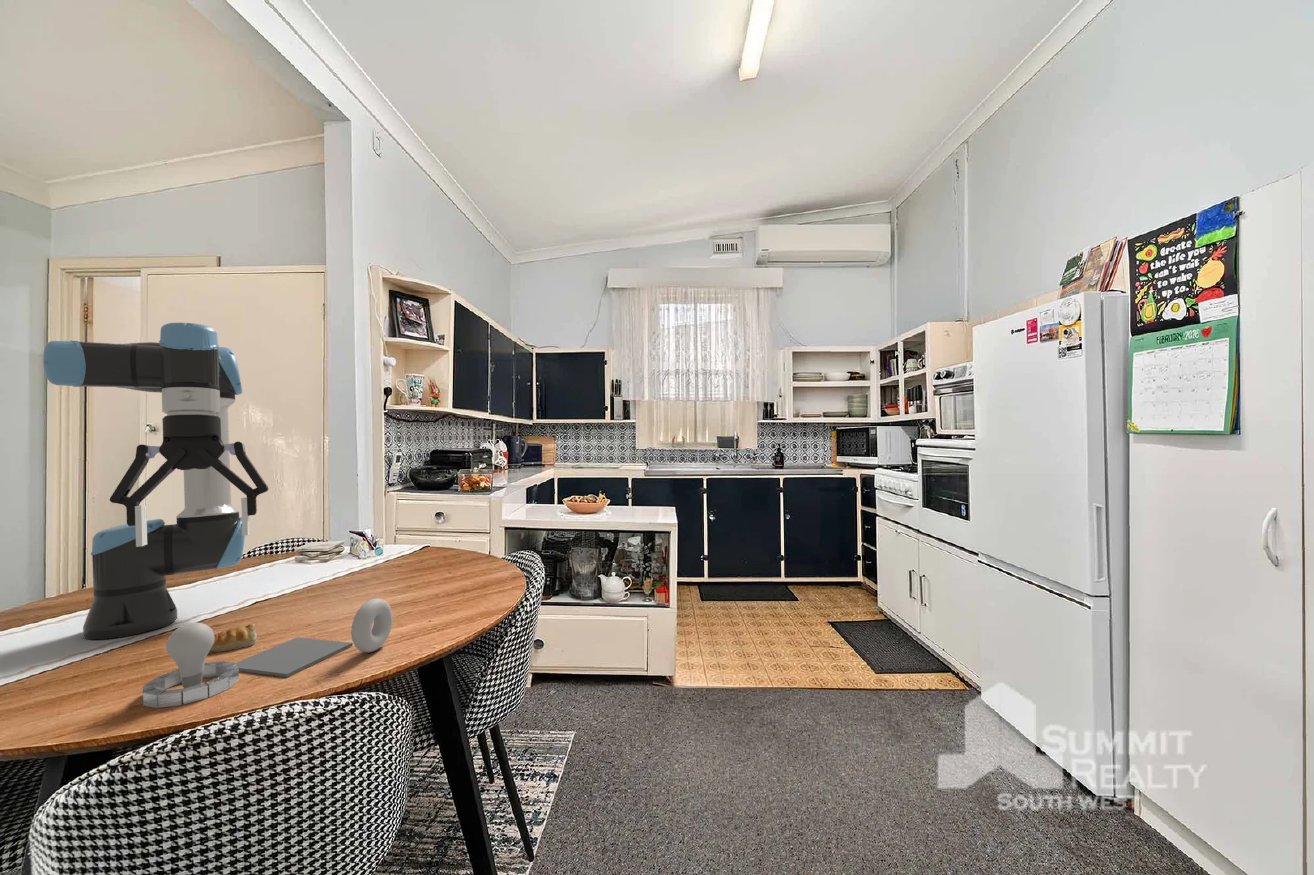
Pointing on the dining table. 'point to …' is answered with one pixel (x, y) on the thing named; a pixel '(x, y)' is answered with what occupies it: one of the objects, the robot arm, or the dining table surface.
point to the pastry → (234, 638)
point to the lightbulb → (190, 651)
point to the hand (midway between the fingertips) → (196, 540)
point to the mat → (291, 656)
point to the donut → (363, 624)
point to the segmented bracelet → (165, 698)
